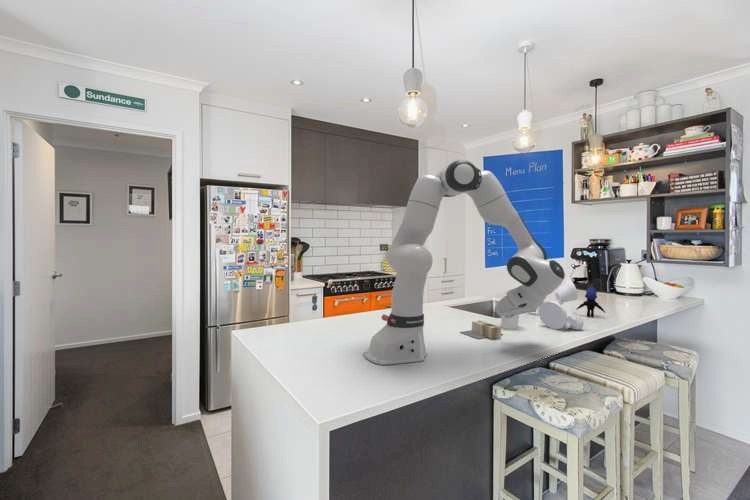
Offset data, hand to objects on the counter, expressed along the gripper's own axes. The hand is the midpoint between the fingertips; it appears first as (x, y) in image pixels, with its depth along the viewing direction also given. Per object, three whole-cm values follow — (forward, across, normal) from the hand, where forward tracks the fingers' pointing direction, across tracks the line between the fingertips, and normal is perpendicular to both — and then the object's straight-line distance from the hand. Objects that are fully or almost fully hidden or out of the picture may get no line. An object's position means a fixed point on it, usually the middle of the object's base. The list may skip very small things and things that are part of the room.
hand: (507, 316), depth 146 cm
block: (+9, 0, +2) cm, 9 cm away
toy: (+16, -74, -1) cm, 76 cm away
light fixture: (+13, -41, +2) cm, 43 cm away
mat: (+17, 0, -3) cm, 17 cm away
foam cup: (+18, -19, -4) cm, 27 cm away
